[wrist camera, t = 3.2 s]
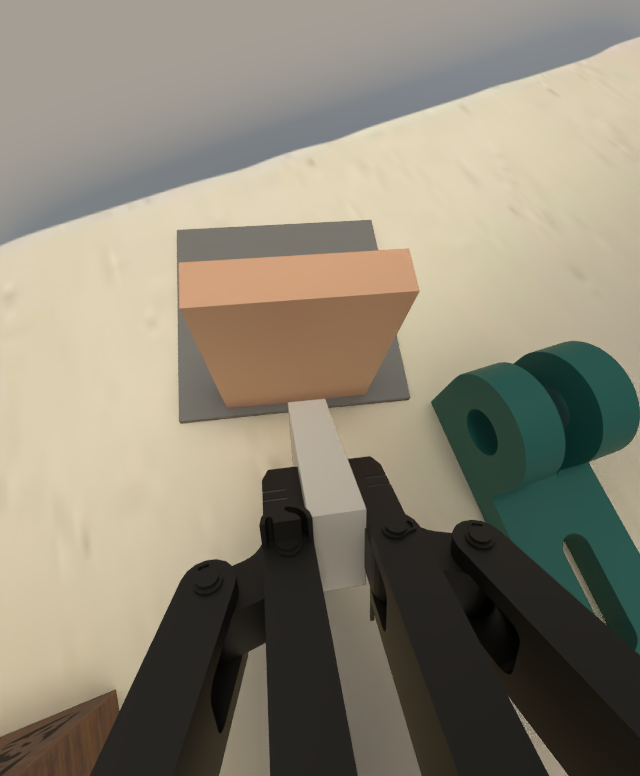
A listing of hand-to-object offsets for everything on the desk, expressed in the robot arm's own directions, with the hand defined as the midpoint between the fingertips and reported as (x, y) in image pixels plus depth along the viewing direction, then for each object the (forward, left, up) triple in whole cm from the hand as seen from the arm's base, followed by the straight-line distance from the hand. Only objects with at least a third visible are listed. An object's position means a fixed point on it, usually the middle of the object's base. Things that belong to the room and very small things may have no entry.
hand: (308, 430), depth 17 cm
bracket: (-14, +5, -10) cm, 18 cm away
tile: (0, -5, -9) cm, 10 cm away
